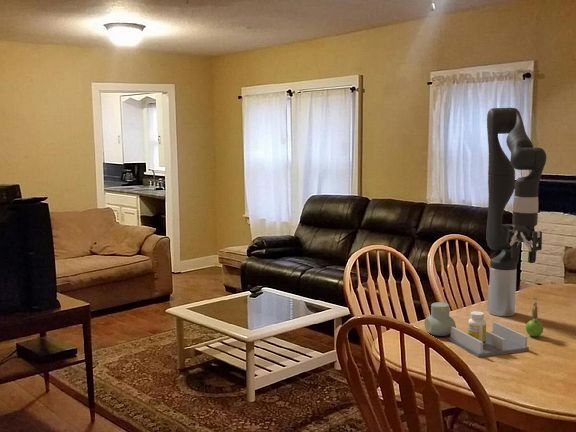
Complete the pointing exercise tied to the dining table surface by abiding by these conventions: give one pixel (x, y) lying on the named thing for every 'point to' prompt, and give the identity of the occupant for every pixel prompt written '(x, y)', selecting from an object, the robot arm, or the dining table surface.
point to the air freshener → (439, 320)
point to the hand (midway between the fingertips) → (522, 260)
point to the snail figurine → (534, 323)
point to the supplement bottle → (477, 326)
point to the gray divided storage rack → (491, 341)
